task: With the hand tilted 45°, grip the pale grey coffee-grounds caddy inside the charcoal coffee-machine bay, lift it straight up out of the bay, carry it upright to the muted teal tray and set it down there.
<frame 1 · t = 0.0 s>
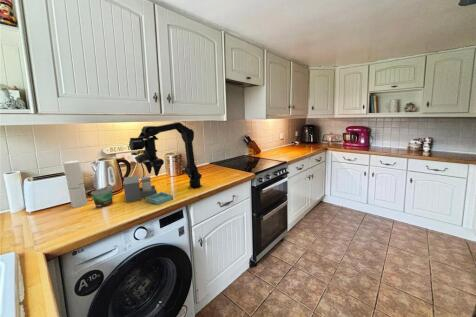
hand: (153, 174, 127), 15 cm above the worktop, tool pointing down, fingers open, 9 cm apart
coffee machine bay: (147, 194, 136), on the worktop
teal tray: (160, 200, 126), on the worktop
food container: (107, 205, 122), on the worktop
grounds caddy: (147, 194, 136), on the worktop
grey rectangular column: (79, 205, 123), on the worktop
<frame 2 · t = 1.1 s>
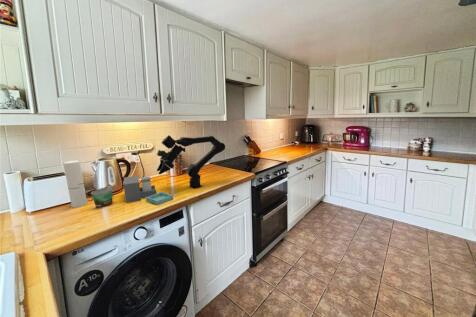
hand: (158, 172, 137), 13 cm above the worktop, tool tilted 45°, fingers open, 9 cm apart
nothing on the worktop moved.
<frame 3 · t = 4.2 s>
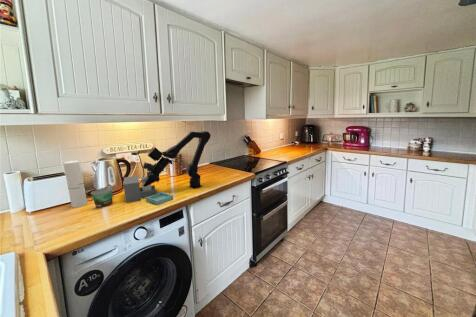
hand: (143, 185, 134), 7 cm above the worktop, tool tilted 45°, fingers closed on grounds caddy, 5 cm apart
grounds caddy: (147, 194, 136), on the worktop, touching gripper
everything else where it was.
when the fingers open (9 cm above the worktop, at t = 8.5 s): grounds caddy drops 1 cm, resting on teal tray.
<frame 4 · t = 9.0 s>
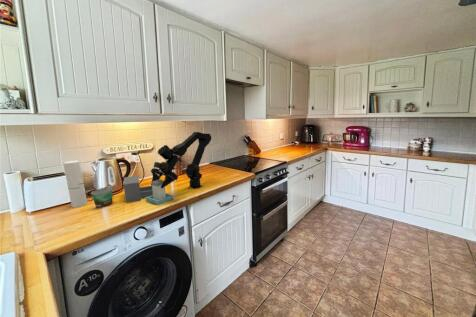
hand: (156, 186, 123), 9 cm above the worktop, tool tilted 45°, fingers open, 9 cm apart
grounds caddy: (159, 199, 126), point 1 cm above the worktop, touching teal tray
everything else where it was.
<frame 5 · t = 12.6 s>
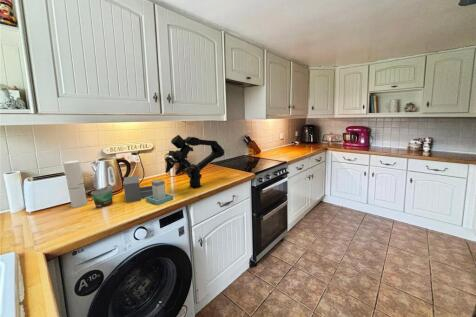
hand: (170, 173, 132), 14 cm above the worktop, tool tilted 45°, fingers open, 9 cm apart
nothing on the worktop moved.
at the end: grounds caddy 0.0 cm off-centre on the teal tray, point 0.6 cm above the teal tray's base; grounds caddy tilted 0°; the gripper is holding nothing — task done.
